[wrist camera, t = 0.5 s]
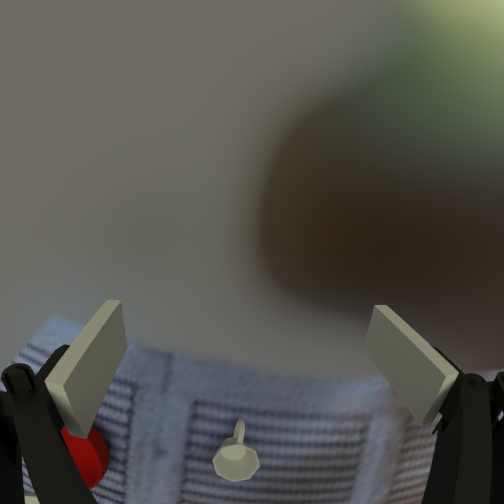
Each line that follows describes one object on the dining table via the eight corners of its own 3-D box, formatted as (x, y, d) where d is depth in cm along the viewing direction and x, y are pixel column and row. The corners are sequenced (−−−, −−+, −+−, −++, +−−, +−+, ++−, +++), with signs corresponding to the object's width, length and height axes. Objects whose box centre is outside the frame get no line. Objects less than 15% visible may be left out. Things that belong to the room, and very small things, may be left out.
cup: (209, 460, 40) (208, 478, 32) (218, 411, 43) (219, 422, 35) (249, 466, 40) (255, 484, 32) (259, 417, 43) (268, 429, 36)
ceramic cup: (38, 436, 35) (11, 446, 26) (87, 397, 40) (61, 405, 31) (80, 488, 33) (59, 506, 23) (134, 453, 38) (117, 473, 29)
